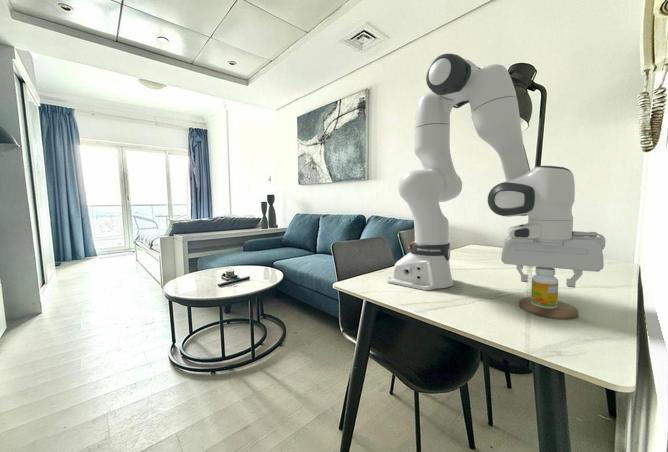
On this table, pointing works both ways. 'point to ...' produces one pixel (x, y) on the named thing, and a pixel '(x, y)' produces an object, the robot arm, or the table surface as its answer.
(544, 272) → the supplement bottle
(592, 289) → the table surface
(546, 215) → the robot arm
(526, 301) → the walnut coaster
